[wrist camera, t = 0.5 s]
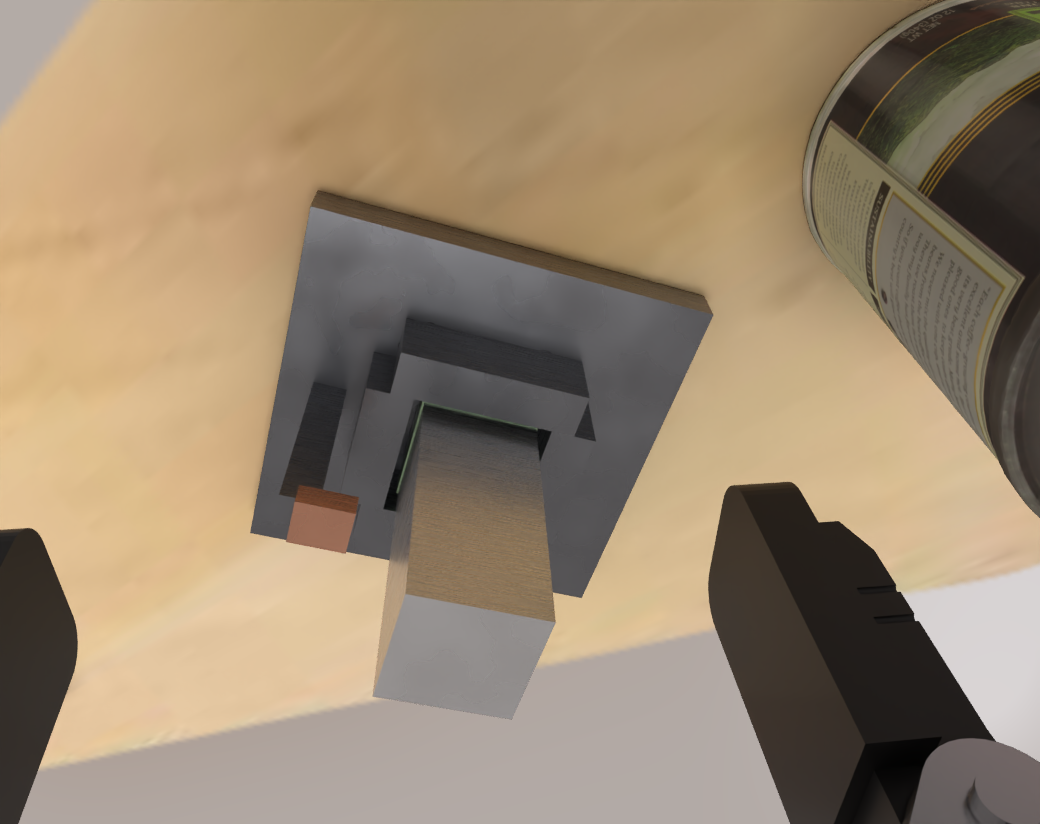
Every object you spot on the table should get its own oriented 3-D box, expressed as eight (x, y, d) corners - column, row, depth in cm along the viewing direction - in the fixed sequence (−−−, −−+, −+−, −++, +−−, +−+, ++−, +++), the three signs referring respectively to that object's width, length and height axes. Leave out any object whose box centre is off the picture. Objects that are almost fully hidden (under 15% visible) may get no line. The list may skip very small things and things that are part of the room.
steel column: (425, 375, 31) (403, 592, 22) (535, 401, 32) (558, 621, 23) (399, 465, 33) (370, 697, 24) (503, 488, 34) (512, 721, 25)
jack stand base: (317, 190, 29) (266, 300, 22) (704, 296, 32) (768, 424, 25) (258, 508, 36) (205, 669, 29) (578, 573, 39) (600, 734, 32)
